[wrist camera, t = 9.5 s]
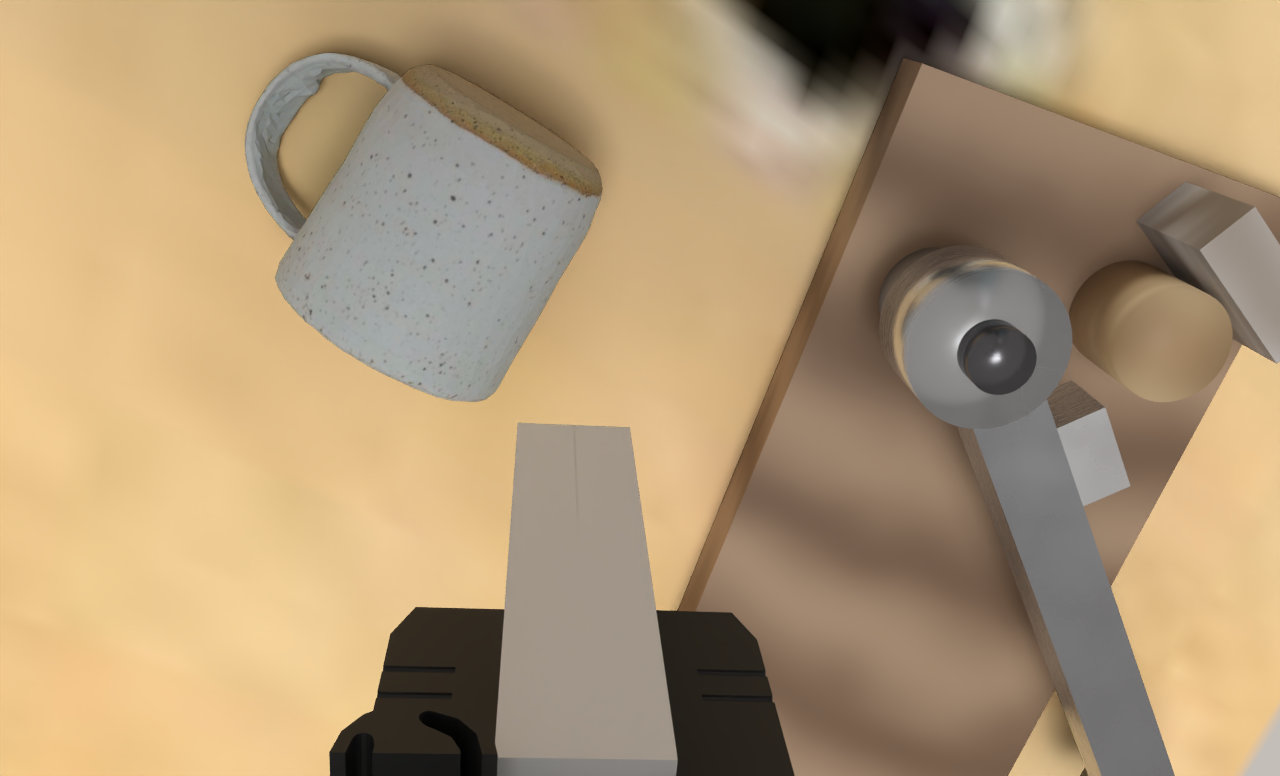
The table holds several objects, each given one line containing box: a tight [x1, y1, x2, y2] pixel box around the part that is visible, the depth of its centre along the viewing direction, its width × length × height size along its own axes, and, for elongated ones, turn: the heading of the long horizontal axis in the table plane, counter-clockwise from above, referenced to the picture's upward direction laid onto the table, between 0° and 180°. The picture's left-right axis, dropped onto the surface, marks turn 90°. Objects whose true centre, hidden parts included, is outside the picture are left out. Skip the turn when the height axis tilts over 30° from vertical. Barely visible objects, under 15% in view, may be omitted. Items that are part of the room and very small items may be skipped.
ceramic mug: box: [245, 53, 602, 402], centre depth 35 cm, size 11×8×8 cm
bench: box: [678, 58, 1280, 776], centre depth 42 cm, size 32×15×6 cm, turn 161°
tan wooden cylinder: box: [1069, 260, 1233, 402], centre depth 39 cm, size 4×4×4 cm
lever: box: [879, 245, 1175, 776], centre depth 39 cm, size 26×5×5 cm, turn 24°
